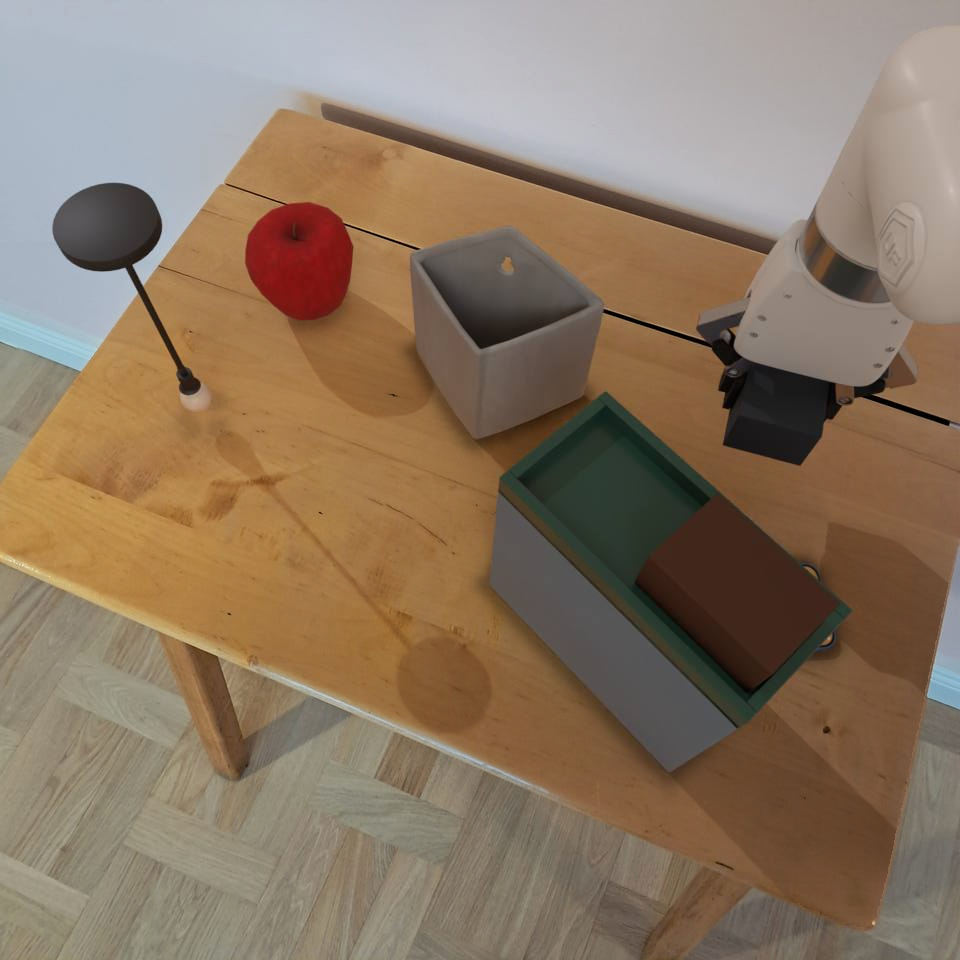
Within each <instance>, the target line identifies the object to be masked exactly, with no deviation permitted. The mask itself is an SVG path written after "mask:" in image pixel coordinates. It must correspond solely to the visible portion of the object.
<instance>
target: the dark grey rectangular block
mask: <svg viewBox="0 0 960 960" xmlns="http://www.w3.org/2000/svg"><path fill="white" fill-rule="evenodd" d="M829 384H830V381H826V380H822V379H818V378H814V377H809V376H805V375H801V374H797V373H794V372H790V371H786V370H782V369H778V368H774V367H770V366H767V365H763V364H758V365H756V366H755V367H753V368H752V369H750V370H749V371H747V374H746V379H745V383H744V385H743V387H742V389H741V391H740V393H739V395H738V397H737V399H736V401H735V403H734V404H733V406H732V408H730V409H729V410H728V416H727V420H726V426H725V430H724V435H723V439H722V440H723V441H722V446H723V447H728V448H731V449H734V450H738V451H742V452H745V453H749V454H753V455H756V456H759V457H760V456H761V457H765V458H767V459H768V458H769V459H772V460H775V461H779V462H783V463H787V464H791V465H794V466H799V467H801V466H802V465H803V463H804V462H805V460H807V458H808V456H809V455H810V453H812V451H813V449H814V448H815V447H816V445H817V444H818V443H819V441H820V440H821V439H822V437H823V433H824V427H825V426H824V425H825V422H824V419H825V412H826V405H827V398H828V391H829Z"/></svg>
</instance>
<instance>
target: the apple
mask: <svg viewBox="0 0 960 960" xmlns="http://www.w3.org/2000/svg"><path fill="white" fill-rule="evenodd" d="M246 239H247V240H246V245H245V253H244V255H245V256H244V264H245V267H246V270H247V272H248V276H249V279H250V280H251V282H252V283H253V285H254V286H255V288H256V289H257V290H258V292H259V293H260V295H261V296H263V297H264V298H265V299H266V300H267V301H268V302H269V303H270V304H271V305H272V306H274V307H275V308H276V309H277V310H278V311H280V312H281V313H282V314H283V315H284V316H287V317H289V318H292V319H295V320H297V321H314V320H317V319H320V318H324V317H327V316H329V315H331V314H332V313H333V312H334V311H336V310H338V309H339V308H340V307H341V305H342V303H343V301H344V299H345V298H346V296H347V293H348V289H349V285H350V282H351V277H352V276H351V275H352V268H353V257H354V244H353V242H352V239H351V237H350V234H349V232H348V230H347V227H346V225H345V222H344V221H343V218H342V217H340V216H339V215H338V214H337V213H335V212H334V211H332V209H330V208H329V207H327V206H324V205H320V204H317V203H314V202H311V201H303V202H291V203H290V202H289V203H286V204H284V205H281V206H278V207H275V208H273V209H270V210H269V211H267V213H265V214H264V215H263V216H261V218H260V219H258V220H257V221H256V223H255V224H254V225H253V227H252V229H250V231H249V233H248V234H247V238H246Z"/></svg>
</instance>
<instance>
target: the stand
mask: <svg viewBox="0 0 960 960" xmlns="http://www.w3.org/2000/svg"><path fill="white" fill-rule="evenodd" d="M495 506H496V508H495V515H494V517H495V518H494V528H493V537H492V547H491V549H492V550H491V559H490V569H489V570H490V571H489V578H488V579H489V580H488V586H489V587H490V588H491V589H492V590H493V591H494V592H495V593H496V594H497V595H498V596H499V597H500V598H501V599H502V600H503V602H505V604H506V605H508V606H509V607H510V609H511V610H512V611H513V612H514V613H515V614H516V615H517V616H518V617H519V618H520V619H521V620H522V621H523V622H524V623H525V624H526V626H528V628H529V629H531V631H532V632H533V633H534V634H535V635H536V636H537V637H538V638H539V639H540V640H541V641H542V642H543V644H545V645H546V646H547V647H548V648H549V650H550V651H551V652H553V654H554V655H555V656H556V657H557V658H558V659H559V660H560V661H561V662H562V663H563V664H564V665H565V666H566V668H567V669H568V670H569V671H571V673H572V674H573V675H574V676H575V677H576V678H577V679H578V680H579V681H580V682H581V683H582V684H583V685H584V686H585V687H586V688H587V689H588V691H590V692H591V694H593V695H594V697H595V698H596V699H597V700H598V701H599V702H600V703H601V704H602V706H604V707H605V708H606V709H607V711H609V712H610V713H611V714H612V715H613V716H614V717H615V718H616V720H618V722H619V723H620V724H621V725H622V726H623V727H624V728H625V729H626V731H628V732H629V733H630V734H631V736H633V737H634V738H635V740H637V742H638V743H640V745H641V746H642V747H643V748H644V749H645V750H646V751H647V752H648V753H649V754H650V755H651V756H652V757H653V758H654V759H655V761H657V762H658V763H659V765H660V766H661V767H662V768H663V769H664V770H665V771H666V772H667V773H668V774H669V773H671V772H673V771H675V770H676V769H678V768H679V767H681V766H683V765H684V764H685V763H687V762H689V761H690V760H692V759H693V758H695V757H696V756H698V755H700V754H701V753H703V752H704V751H706V750H707V749H710V748H711V747H712V746H714V745H715V744H717V743H718V742H720V741H722V740H723V739H725V738H726V737H728V736H729V735H731V734H732V733H735V732H736V731H737V730H738V729H737V728H736V727H735V726H734V725H733V724H732V723H731V722H730V721H729V720H728V719H727V718H726V717H725V716H724V715H723V714H722V713H721V712H720V711H719V710H718V709H717V708H716V707H715V706H714V705H713V704H712V703H711V702H709V701H708V700H707V699H706V698H705V697H704V696H703V695H702V694H701V693H700V692H699V691H698V690H697V689H696V688H695V687H694V686H693V685H692V684H691V683H690V682H689V681H688V680H687V679H686V678H685V677H684V676H683V675H682V674H681V673H680V672H679V671H678V670H677V669H676V668H675V667H674V666H673V665H672V664H671V663H670V662H669V661H668V660H667V659H666V658H665V657H664V656H663V655H662V654H661V653H660V652H659V651H658V650H657V649H656V648H655V647H654V646H653V645H652V644H651V643H650V642H649V641H648V640H647V639H646V638H645V637H644V636H643V635H642V634H641V633H640V632H639V631H638V630H637V629H636V628H635V627H634V626H633V625H632V624H631V623H630V622H629V621H628V620H627V619H626V618H625V617H624V616H623V615H622V614H621V613H620V612H619V611H618V610H617V609H616V608H615V607H614V606H613V605H612V604H611V603H610V602H609V601H608V600H607V599H606V598H605V597H604V596H603V595H602V594H601V593H600V592H599V591H598V590H597V589H596V588H595V587H594V586H593V585H592V584H591V583H590V582H589V581H588V580H587V579H586V578H585V577H584V576H583V575H581V574H580V573H579V572H578V571H577V570H576V569H575V568H574V567H573V566H572V565H571V564H570V563H569V562H568V561H567V560H566V559H565V558H564V557H563V556H562V555H561V554H560V553H559V552H558V551H557V550H556V549H555V548H554V547H553V546H552V545H551V544H550V543H549V542H548V541H547V540H546V539H545V538H544V537H543V536H542V535H541V534H540V533H539V532H538V531H537V530H536V529H535V528H534V527H533V526H532V525H531V524H530V523H529V522H528V521H527V520H526V519H525V518H524V517H523V516H522V515H521V514H520V513H519V512H518V511H517V510H516V509H515V508H514V507H513V506H512V505H511V504H510V503H509V502H508V501H507V500H506V499H505V498H504V497H503V496H502V495H501V494H500V493H499V492H498V491H497V498H496V505H495Z"/></svg>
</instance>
